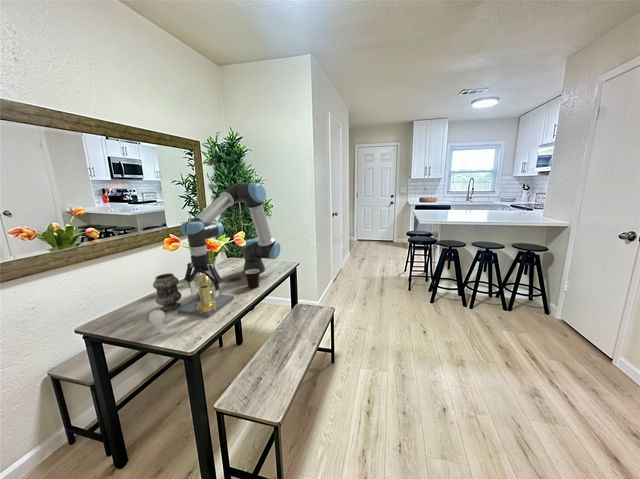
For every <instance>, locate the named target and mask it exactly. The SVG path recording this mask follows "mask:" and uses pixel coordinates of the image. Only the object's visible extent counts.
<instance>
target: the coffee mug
mask: <svg viewBox="0 0 640 479" xmlns="http://www.w3.org/2000/svg"><path fill="white" fill-rule="evenodd" d="M244 274H245V277H246V282H247V286H248V289H251V290H253V289H257V288H259V287H260V273H259V270H258V269H250V270H247V271H245V273H244Z"/></svg>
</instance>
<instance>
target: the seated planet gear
mask: <svg viewBox="0 0 640 479" xmlns="http://www.w3.org/2000/svg"><path fill="white" fill-rule="evenodd" d="M198 281H199V282H198V283H199V287H200V286H202V285H209V286H211V284H210V279H209V278H208V276H207V275H206V274H200V275H199V276H198ZM210 293H211V297H214V292H213V287H212V288H211V287H210ZM196 296H197V297H196V298H199V299H200V295H199V290H198V292H196Z"/></svg>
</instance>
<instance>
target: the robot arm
mask: <svg viewBox="0 0 640 479" xmlns="http://www.w3.org/2000/svg"><path fill="white" fill-rule="evenodd" d="M266 193H267V191H266V190H265V187H264V186H263V185H262V184H261V183H259V182H242V183H241V182H239V183H238V182H237V183H234V184H232V185H230V186H229V187H227V188H226V189H224V190H223V191H221V192H220V194H219V197H217V198H216V199H215V200H214V201H213V202H211V203H210V204H209V205H208V206H206V208H204V209H203V210H202V211H200V213H198V214H197V215H196V216H195V217H193V218H192V219H191V220H190V221H183V222H181V224H180V227H179V229H180V233H181V234H182V236H185V237H187V242H188V246H189V253H190V254H189V255H190V260H191V261H190V262H188V263H187V264H186V265H187V268H186V271H185V276H184V279H183V280H184V281H185V282H186V281H187V283H188V287H189V289H190V294H191V295H192V296H193V295H195V294H197V289H196V282H195V280H194V279H195V277H196V276H197V274H200V273H201V274H203V275H207V276H208V278H209V281H211V282H212V283H213V284H212V290H213V292H214V297H217V296H218V295H219V294H220V292H219V290H220V285H219V284H220V283H222V282H223V280H222V278H221V276H220V275H219V273H218V271H217V269H216V266H215V263H211V264H209V256H208V247H207V240H209V239H213V238H216V237H217V238H218V237H219V236H221V235H223V233H224V230H225V228H224V225H223V224H222V223H221V222H220V221H217V220H216V221H214V220H215V219H216V218H218V217H219V215H221V214H223V212H224V211H225V210H226V209H228V207H232V206H233V205H234V204H236V203H237V204H238V203H244V205H245V208H247V209H248V210H249V213H250V216H251V219H252V222H253V226H254V228H255V231H256V235H257V238H251V239H248V240H245V241H246V245H244V246H242V249H243V254H244V255H243V256H244V264H243V274H245V271H247V270H250V269H258V270H259V274H262V273H264V272H265V271H266V267H265V264H264V261H263V260H262V259H264V260H266V259H267V260H276V259H277V258H278V257H279V256H280V254H281V253H280V252H281V244H280V243H279V242H277V241H276V238H275V237H274V236H272V233H271V231H270V227H269V222H268V219H267V216H266V213H265V209H264V204H265V201H266V198H267V196H266V195H267V194H266Z"/></svg>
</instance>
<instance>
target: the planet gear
mask: <svg viewBox="0 0 640 479" xmlns="http://www.w3.org/2000/svg"><path fill="white" fill-rule="evenodd" d="M210 286H211V285H210ZM210 286H209V285H202V286H200V285H199V286H198V288H197V289H198V291H199V295H200V303H198V305H197V311H198V312H200V313H209V312H211V311H213V310H215V307H217V306H216V301H213V300H211V293H210V288H211V287H210Z"/></svg>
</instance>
